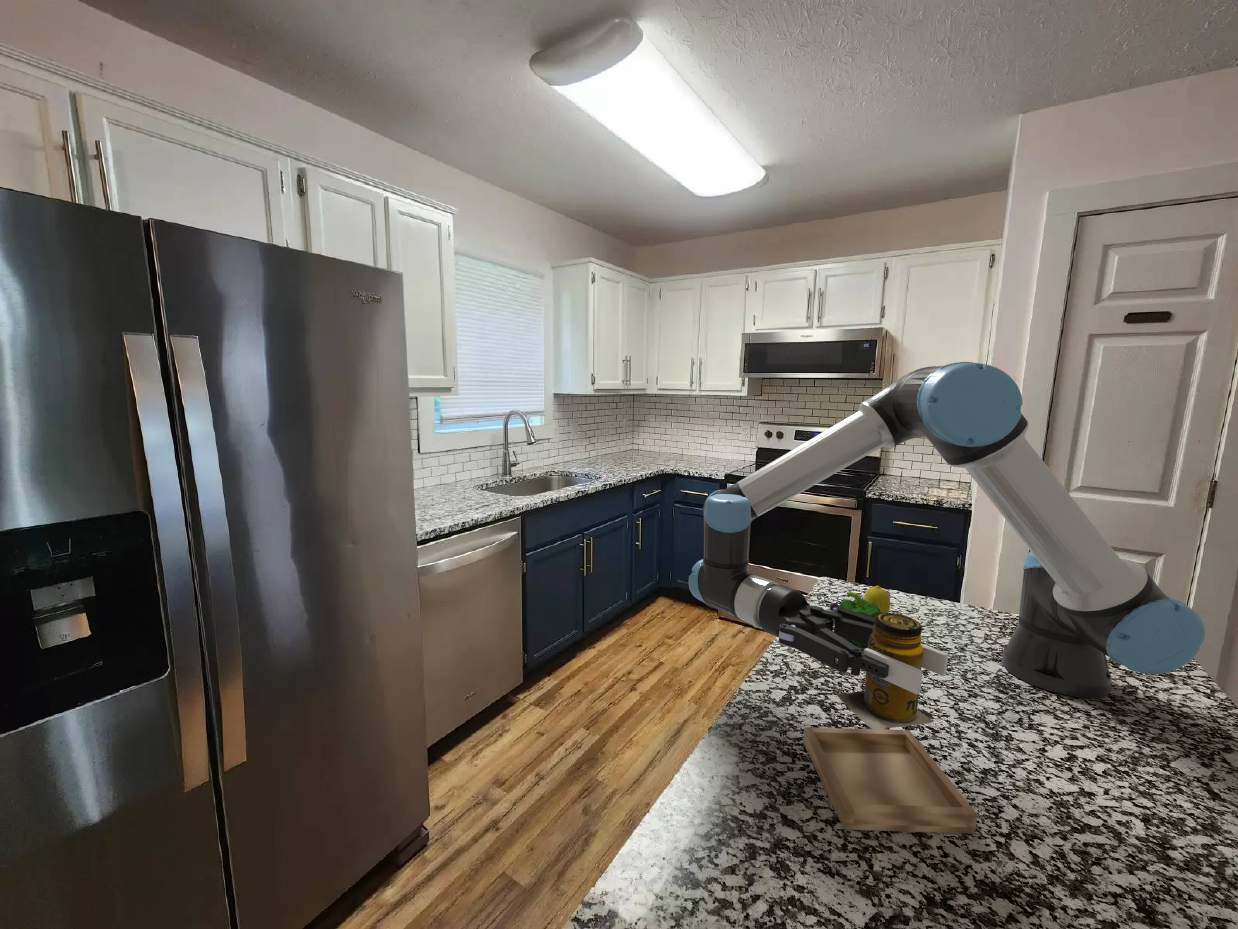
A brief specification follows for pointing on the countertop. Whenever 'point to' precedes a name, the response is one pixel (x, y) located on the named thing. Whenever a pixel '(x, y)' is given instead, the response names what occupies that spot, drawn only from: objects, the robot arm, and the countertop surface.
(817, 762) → the tray
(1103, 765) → the countertop surface
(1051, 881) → the countertop surface
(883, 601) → the lemon
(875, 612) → the bell pepper
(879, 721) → the condiment
